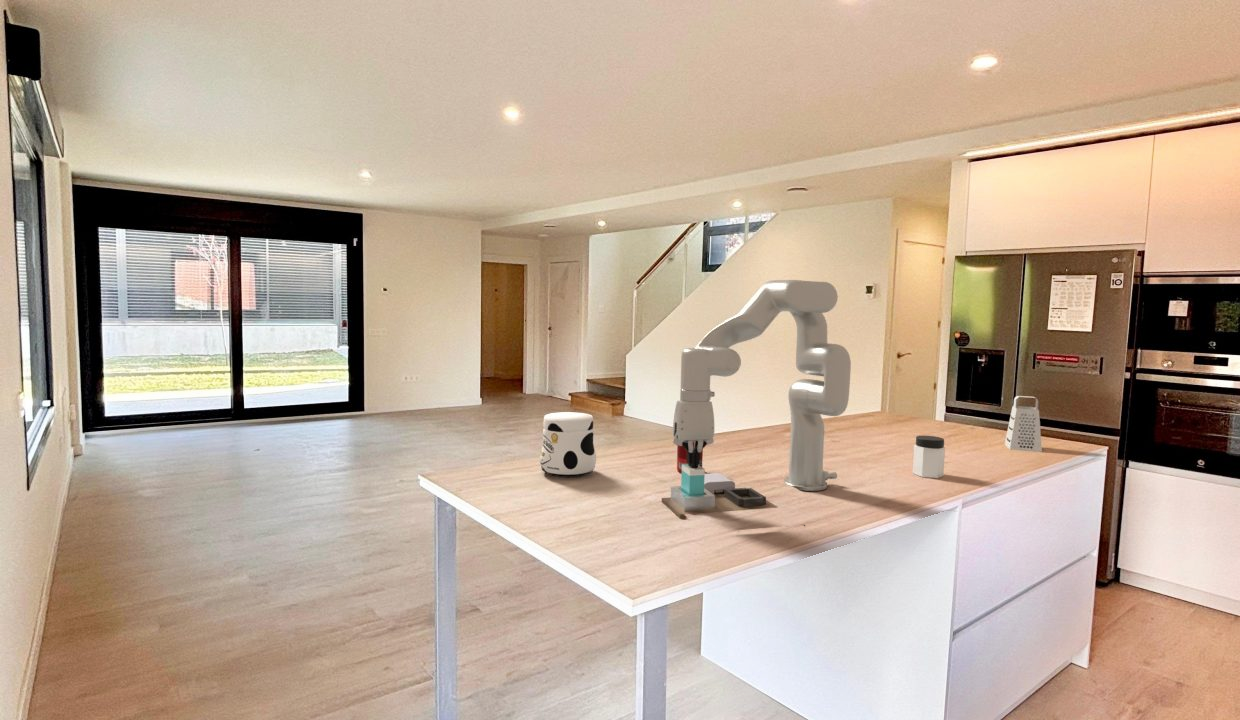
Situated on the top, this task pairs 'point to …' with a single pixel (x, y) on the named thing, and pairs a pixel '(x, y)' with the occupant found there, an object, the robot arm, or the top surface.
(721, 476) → the charger
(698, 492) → the plug
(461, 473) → the top surface
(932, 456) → the jar
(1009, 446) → the grater
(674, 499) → the frame
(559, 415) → the milk container
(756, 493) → the brown socket board
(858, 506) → the top surface
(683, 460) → the canned food
